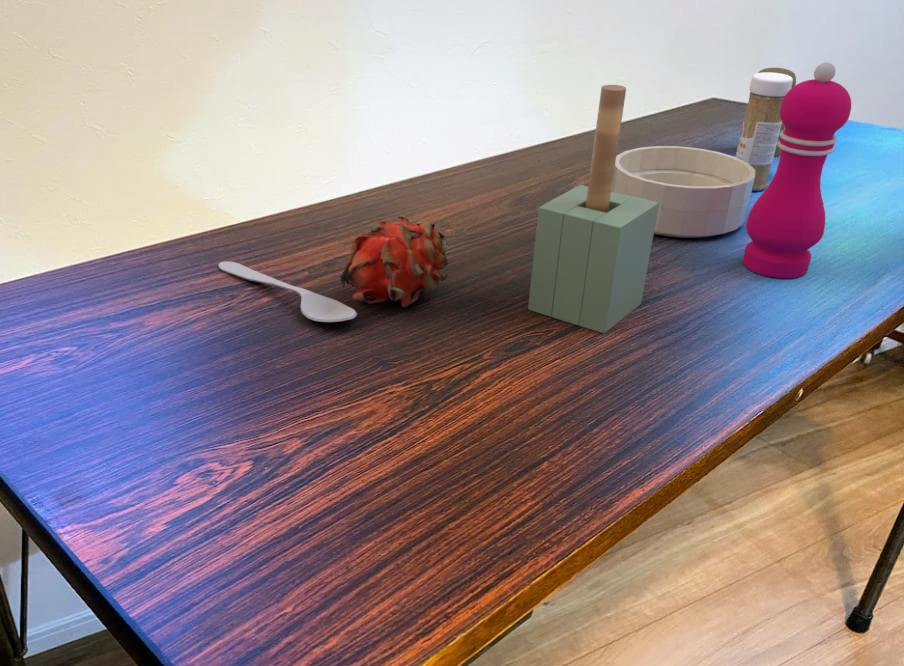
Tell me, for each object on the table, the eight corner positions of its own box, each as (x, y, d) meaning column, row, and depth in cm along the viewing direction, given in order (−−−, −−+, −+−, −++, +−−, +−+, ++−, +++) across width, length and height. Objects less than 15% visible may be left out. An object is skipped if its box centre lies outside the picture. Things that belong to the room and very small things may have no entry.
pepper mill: (807, 286, 89) (868, 74, 78) (731, 272, 92) (779, 66, 81) (816, 260, 94) (873, 59, 83) (743, 248, 97) (790, 51, 86)
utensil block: (641, 304, 86) (659, 202, 80) (604, 334, 81) (621, 227, 75) (567, 282, 90) (580, 184, 84) (527, 309, 85) (538, 207, 79)
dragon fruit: (454, 300, 90) (353, 346, 86) (410, 232, 92) (309, 274, 88) (483, 255, 82) (372, 303, 78) (434, 182, 84) (324, 225, 80)
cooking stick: (597, 305, 85) (630, 86, 75) (587, 313, 84) (619, 91, 73) (578, 300, 86) (608, 83, 76) (568, 307, 85) (597, 87, 74)
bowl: (762, 212, 106) (774, 162, 103) (713, 252, 96) (725, 197, 93) (640, 186, 114) (648, 138, 111) (584, 220, 104) (590, 169, 101)
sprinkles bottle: (725, 179, 116) (749, 70, 109) (762, 181, 116) (788, 71, 109) (732, 191, 112) (757, 79, 105) (770, 193, 112) (798, 80, 105)
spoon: (335, 339, 80) (334, 323, 79) (204, 269, 93) (203, 254, 92) (369, 325, 82) (370, 308, 81) (238, 258, 95) (237, 243, 94)
